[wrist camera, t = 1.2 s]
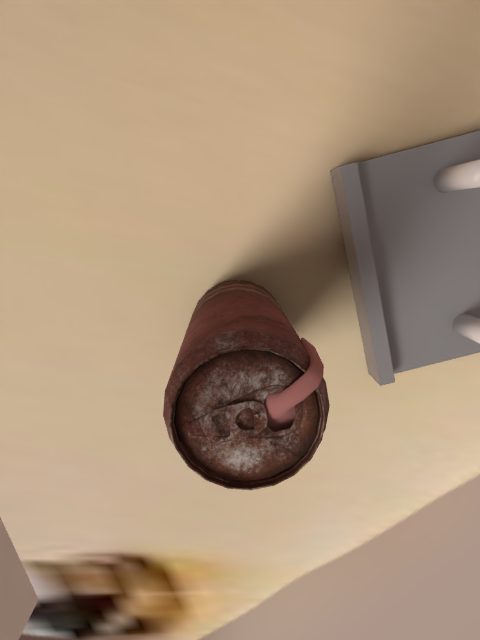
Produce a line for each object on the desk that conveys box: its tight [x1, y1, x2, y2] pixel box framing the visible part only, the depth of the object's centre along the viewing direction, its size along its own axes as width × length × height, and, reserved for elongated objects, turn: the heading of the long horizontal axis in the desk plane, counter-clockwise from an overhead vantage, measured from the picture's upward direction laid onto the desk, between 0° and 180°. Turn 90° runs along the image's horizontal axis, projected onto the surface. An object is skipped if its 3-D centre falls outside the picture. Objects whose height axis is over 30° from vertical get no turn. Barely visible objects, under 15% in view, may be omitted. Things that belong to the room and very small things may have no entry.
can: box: [163, 280, 329, 490], centre depth 21 cm, size 6×6×14 cm
